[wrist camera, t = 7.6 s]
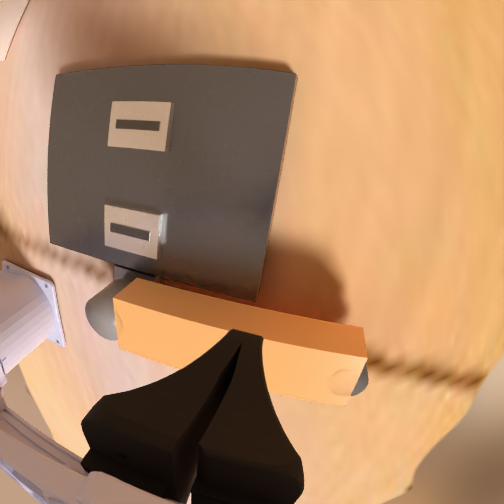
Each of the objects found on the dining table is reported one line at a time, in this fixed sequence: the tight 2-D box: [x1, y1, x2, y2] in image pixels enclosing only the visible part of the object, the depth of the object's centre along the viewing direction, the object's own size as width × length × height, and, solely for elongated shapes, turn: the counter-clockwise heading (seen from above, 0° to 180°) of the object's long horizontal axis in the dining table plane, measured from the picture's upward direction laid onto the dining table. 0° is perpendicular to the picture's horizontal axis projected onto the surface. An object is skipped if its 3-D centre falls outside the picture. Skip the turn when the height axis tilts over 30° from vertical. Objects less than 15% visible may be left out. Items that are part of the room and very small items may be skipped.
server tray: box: [48, 64, 298, 302], centre depth 19 cm, size 18×18×2 cm
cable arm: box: [85, 278, 368, 406], centre depth 19 cm, size 18×4×3 cm, turn 83°
